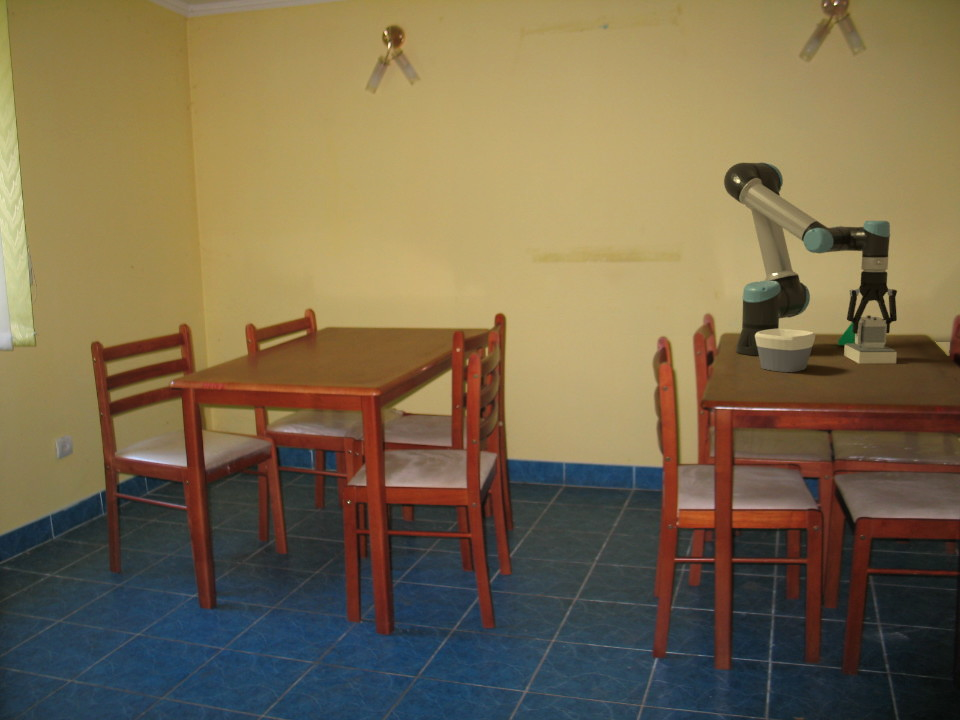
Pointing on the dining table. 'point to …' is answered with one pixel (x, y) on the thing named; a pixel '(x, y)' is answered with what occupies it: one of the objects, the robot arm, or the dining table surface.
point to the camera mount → (847, 336)
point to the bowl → (784, 349)
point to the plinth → (870, 354)
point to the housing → (872, 332)
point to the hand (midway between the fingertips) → (870, 343)
